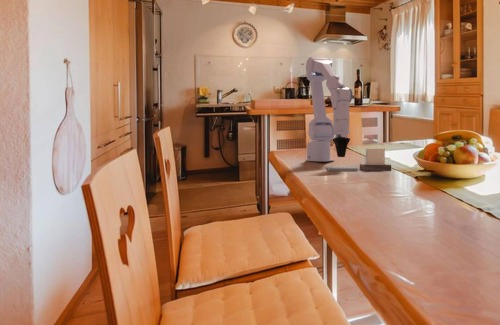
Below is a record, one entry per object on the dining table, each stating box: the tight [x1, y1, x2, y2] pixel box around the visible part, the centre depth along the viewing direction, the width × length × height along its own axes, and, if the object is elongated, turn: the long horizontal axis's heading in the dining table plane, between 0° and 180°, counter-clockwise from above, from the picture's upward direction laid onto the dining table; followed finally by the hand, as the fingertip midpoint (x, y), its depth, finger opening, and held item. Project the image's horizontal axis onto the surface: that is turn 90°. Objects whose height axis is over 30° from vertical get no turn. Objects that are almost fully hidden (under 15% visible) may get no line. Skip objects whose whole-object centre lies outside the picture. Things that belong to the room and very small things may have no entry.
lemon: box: [416, 147, 426, 168], centre depth 118 cm, size 6×6×8 cm
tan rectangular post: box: [365, 147, 386, 165], centre depth 122 cm, size 3×6×8 cm, turn 88°
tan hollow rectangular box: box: [359, 163, 392, 172], centre depth 122 cm, size 7×10×2 cm
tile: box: [325, 165, 359, 172], centre depth 123 cm, size 10×10×1 cm
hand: (341, 156), depth 123 cm, fingers closed
